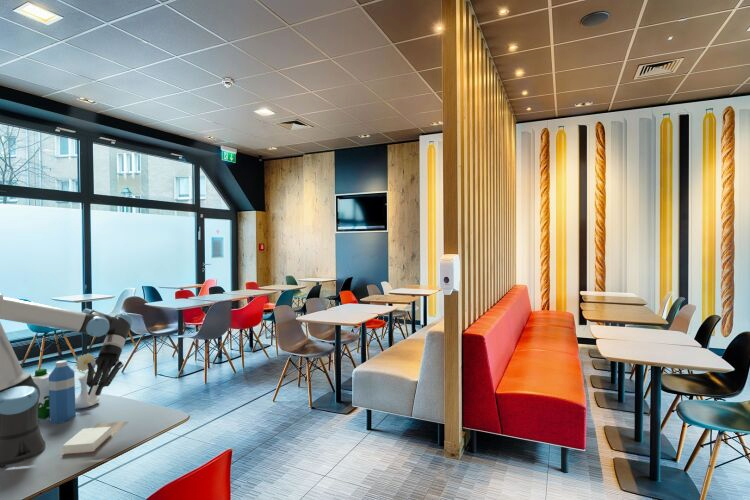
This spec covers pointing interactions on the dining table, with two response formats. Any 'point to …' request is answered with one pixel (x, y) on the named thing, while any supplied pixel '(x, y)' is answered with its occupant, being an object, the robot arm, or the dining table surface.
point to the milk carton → (43, 392)
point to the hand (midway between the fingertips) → (90, 403)
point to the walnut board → (114, 429)
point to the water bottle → (62, 393)
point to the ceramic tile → (86, 440)
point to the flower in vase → (84, 381)
